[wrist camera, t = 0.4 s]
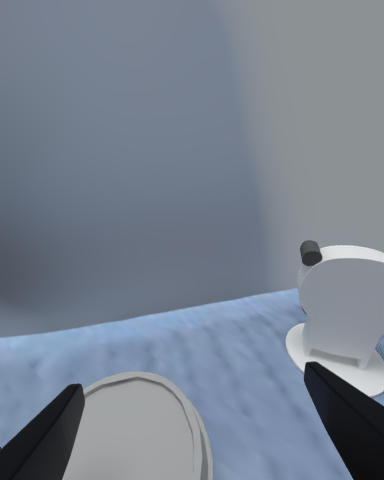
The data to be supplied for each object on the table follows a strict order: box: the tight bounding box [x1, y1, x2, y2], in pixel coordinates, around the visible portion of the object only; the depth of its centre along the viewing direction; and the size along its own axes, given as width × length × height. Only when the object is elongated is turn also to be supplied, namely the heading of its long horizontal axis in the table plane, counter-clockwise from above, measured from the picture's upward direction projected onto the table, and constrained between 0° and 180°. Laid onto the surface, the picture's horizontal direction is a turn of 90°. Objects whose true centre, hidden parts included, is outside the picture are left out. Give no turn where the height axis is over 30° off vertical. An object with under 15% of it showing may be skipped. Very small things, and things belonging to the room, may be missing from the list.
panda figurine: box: [286, 241, 384, 398], centre depth 26 cm, size 12×11×15 cm
